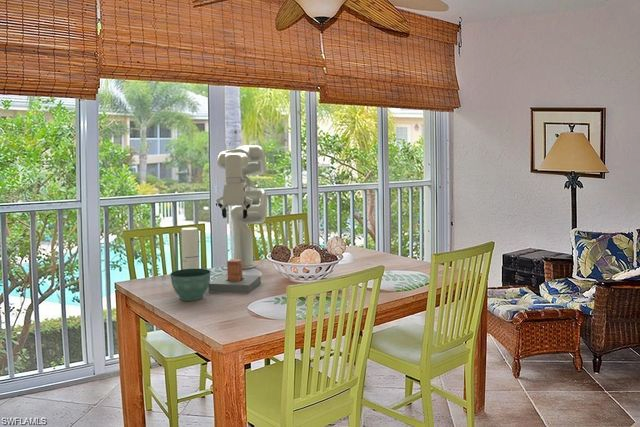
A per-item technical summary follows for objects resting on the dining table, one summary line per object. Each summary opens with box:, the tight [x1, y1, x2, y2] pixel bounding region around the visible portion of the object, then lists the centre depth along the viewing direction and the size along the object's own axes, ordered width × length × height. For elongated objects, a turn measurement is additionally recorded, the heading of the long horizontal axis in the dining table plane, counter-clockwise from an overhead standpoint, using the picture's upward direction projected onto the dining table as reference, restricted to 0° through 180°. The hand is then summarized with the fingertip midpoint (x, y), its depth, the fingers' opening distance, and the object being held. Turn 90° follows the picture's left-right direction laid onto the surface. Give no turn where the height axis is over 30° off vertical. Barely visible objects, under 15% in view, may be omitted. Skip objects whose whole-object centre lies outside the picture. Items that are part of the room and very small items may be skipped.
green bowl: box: [170, 268, 212, 302], centre depth 251 cm, size 16×16×11 cm
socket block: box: [207, 273, 262, 294], centre depth 269 cm, size 18×18×4 cm
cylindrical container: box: [180, 226, 200, 269], centre depth 276 cm, size 7×7×25 cm
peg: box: [226, 258, 243, 282], centre depth 269 cm, size 5×5×12 cm
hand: (234, 217), depth 283 cm, fingers open, 9 cm apart
